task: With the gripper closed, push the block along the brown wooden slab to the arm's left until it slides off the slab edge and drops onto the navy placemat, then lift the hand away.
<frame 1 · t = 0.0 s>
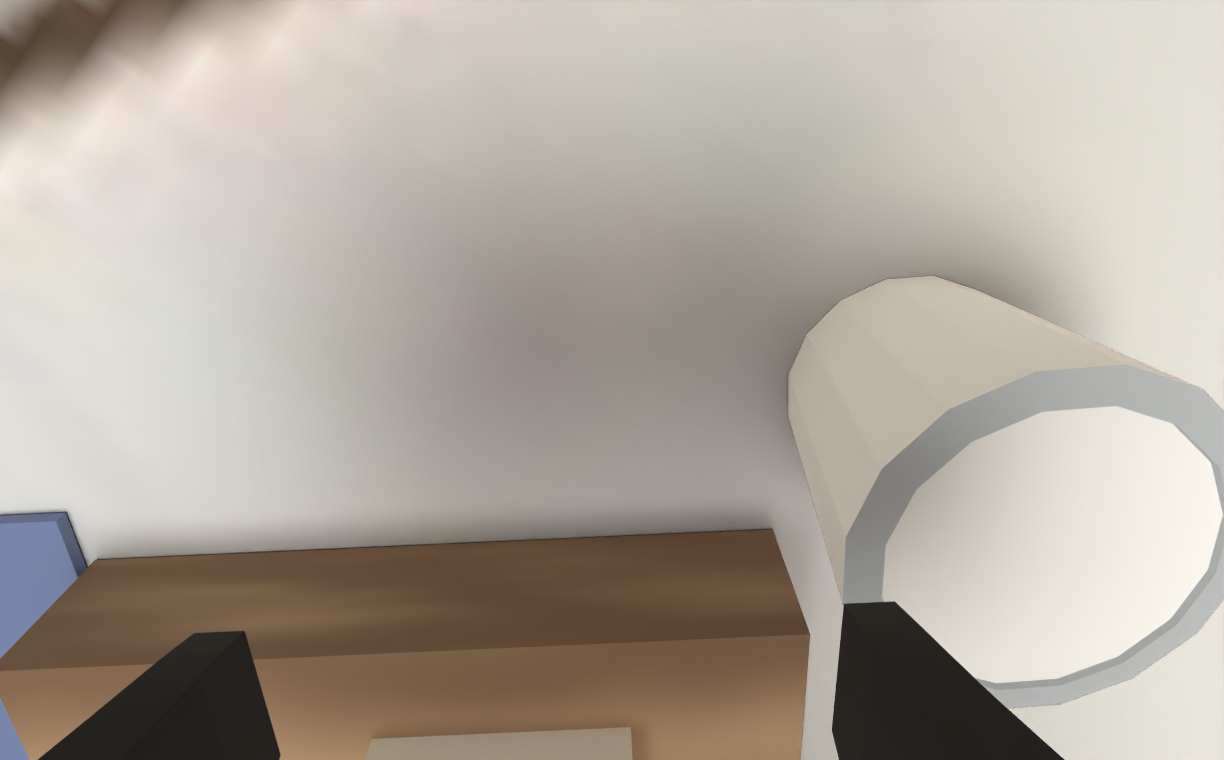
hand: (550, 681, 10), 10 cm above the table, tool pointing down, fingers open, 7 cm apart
mat: (12, 758, 24), on the table
brown wooden slab: (464, 737, 24), on the table
white cup: (897, 382, 19), on the table
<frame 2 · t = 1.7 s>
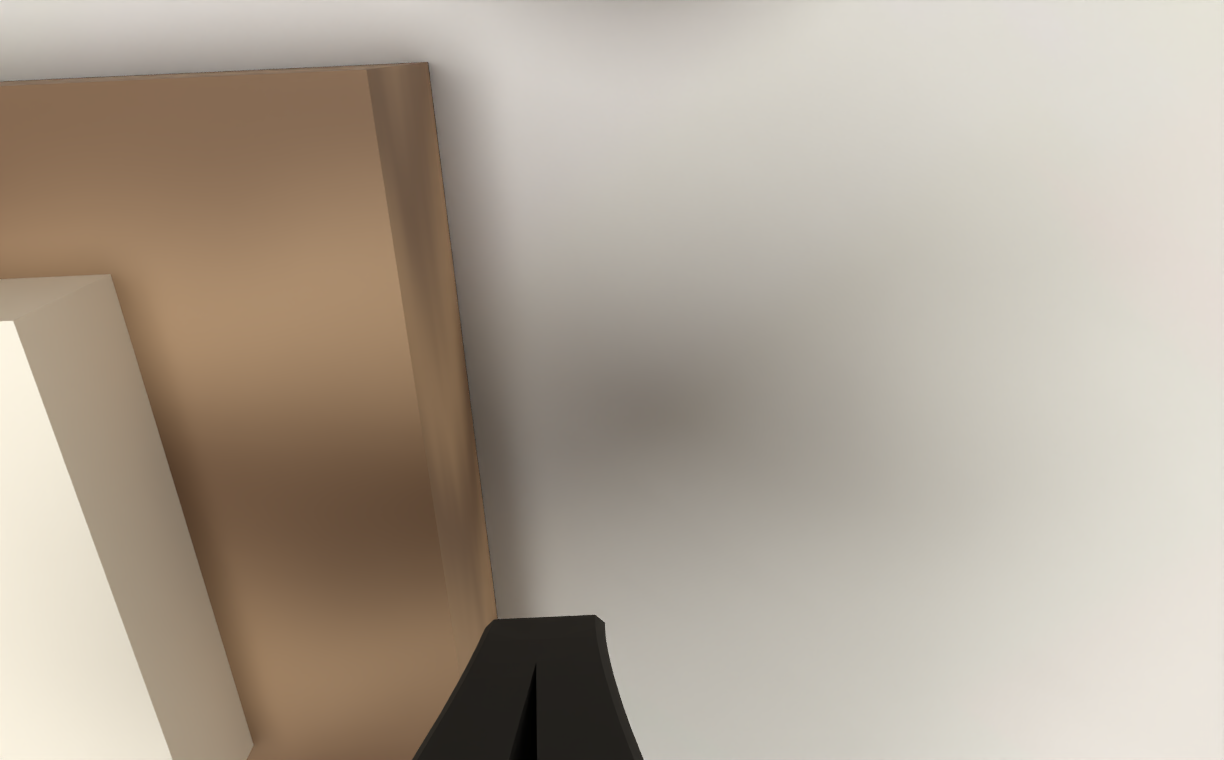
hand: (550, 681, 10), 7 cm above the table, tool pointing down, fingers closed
brown wooden slab: (43, 441, 16), on the table
block: (7, 551, 13), point 4 cm above the table, touching brown wooden slab
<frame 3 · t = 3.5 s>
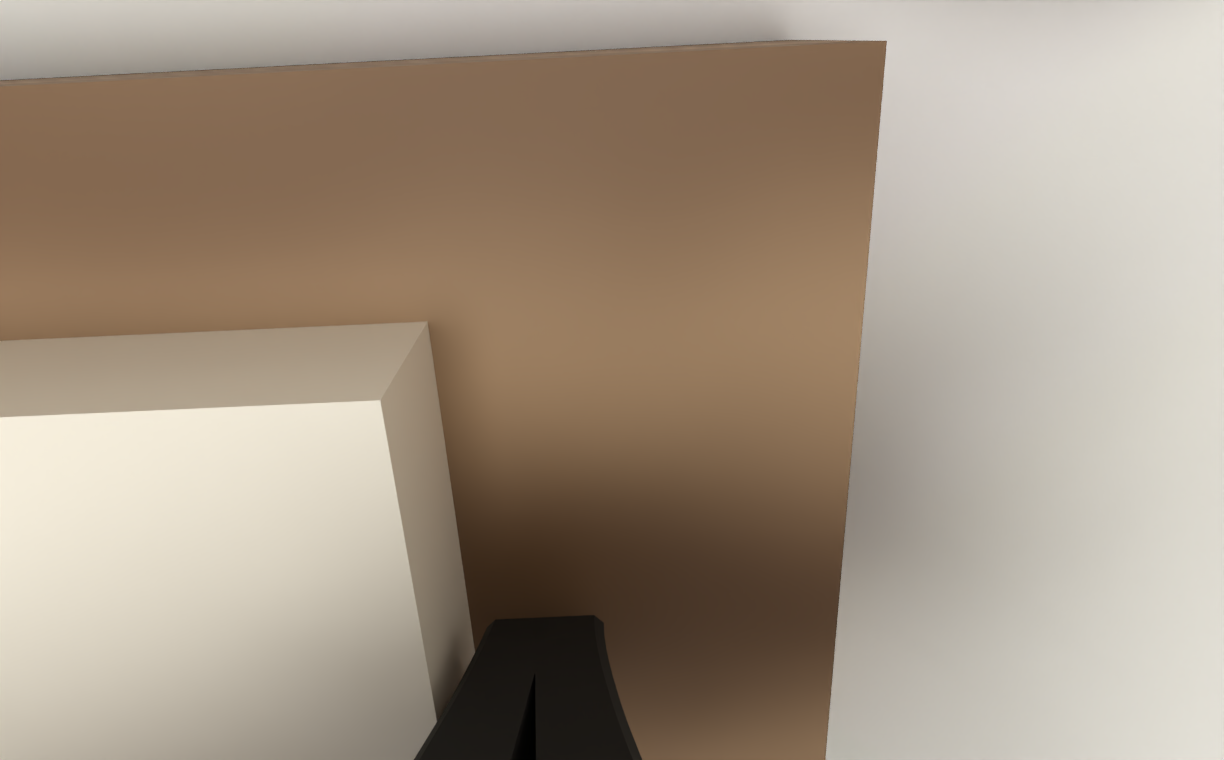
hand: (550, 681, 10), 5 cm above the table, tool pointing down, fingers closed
brown wooden slab: (265, 496, 14), on the table
block: (244, 657, 10), point 4 cm above the table, touching brown wooden slab, gripper
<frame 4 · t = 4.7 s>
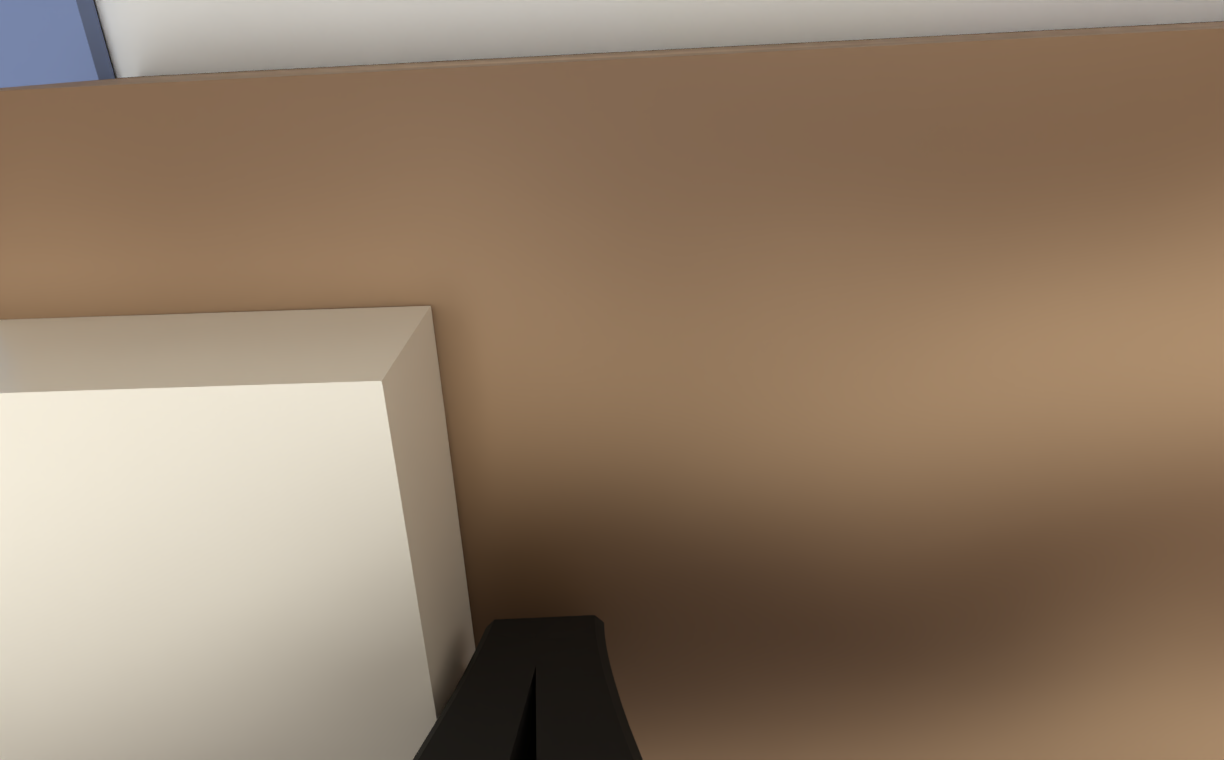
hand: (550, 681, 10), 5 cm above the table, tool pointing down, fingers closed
brown wooden slab: (756, 473, 14), on the table
block: (242, 644, 10), point 4 cm above the table, touching gripper
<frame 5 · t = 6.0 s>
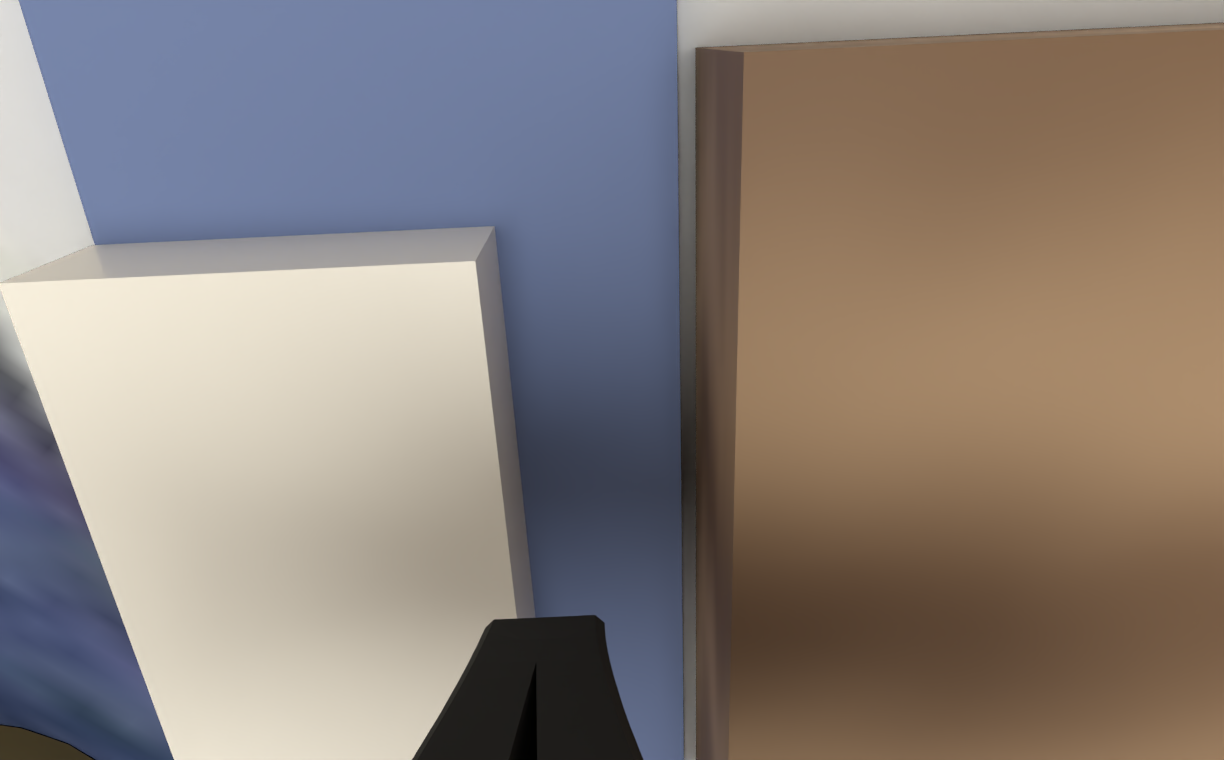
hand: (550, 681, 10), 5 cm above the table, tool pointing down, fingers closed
mat: (434, 488, 14), on the table
brown wooden slab: (1203, 452, 14), on the table
block: (307, 566, 12), point 2 cm above the table, tilted 180°, touching mat
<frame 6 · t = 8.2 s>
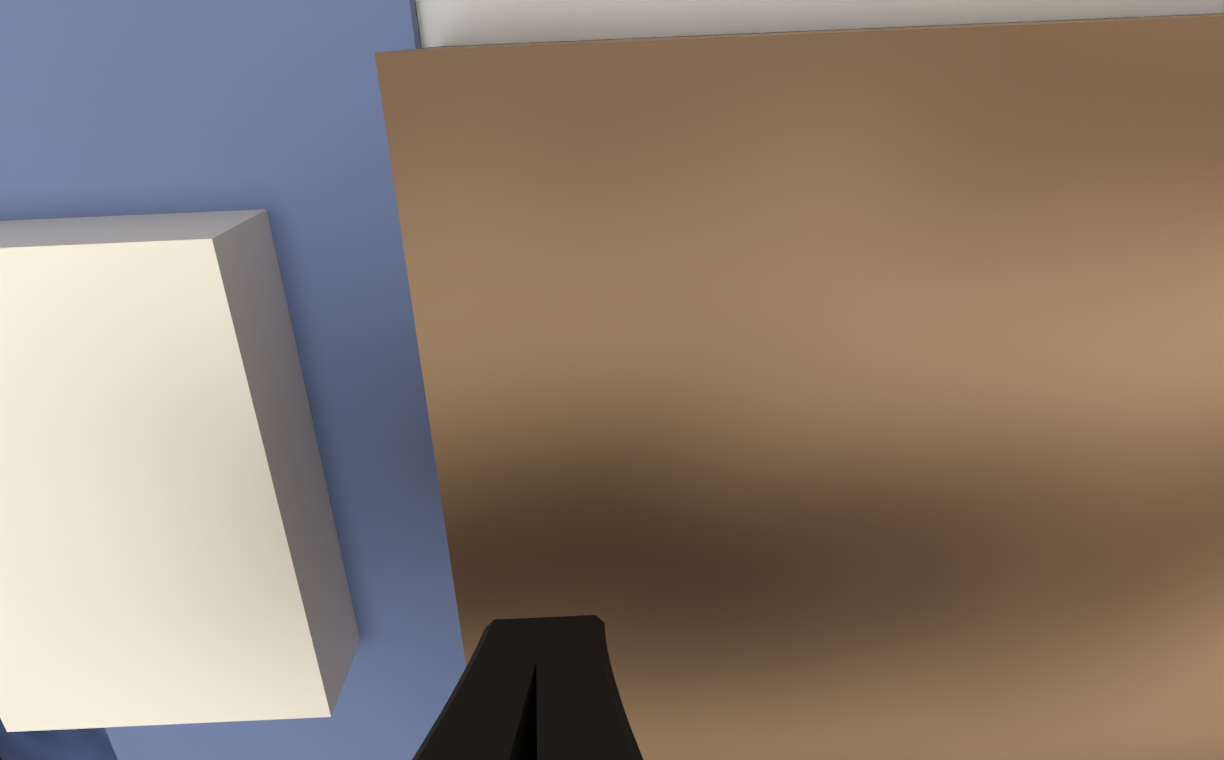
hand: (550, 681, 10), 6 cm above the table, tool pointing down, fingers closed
mat: (243, 454, 15), on the table
brown wooden slab: (955, 422, 15), on the table
block: (94, 520, 13), point 2 cm above the table, tilted 180°, touching mat
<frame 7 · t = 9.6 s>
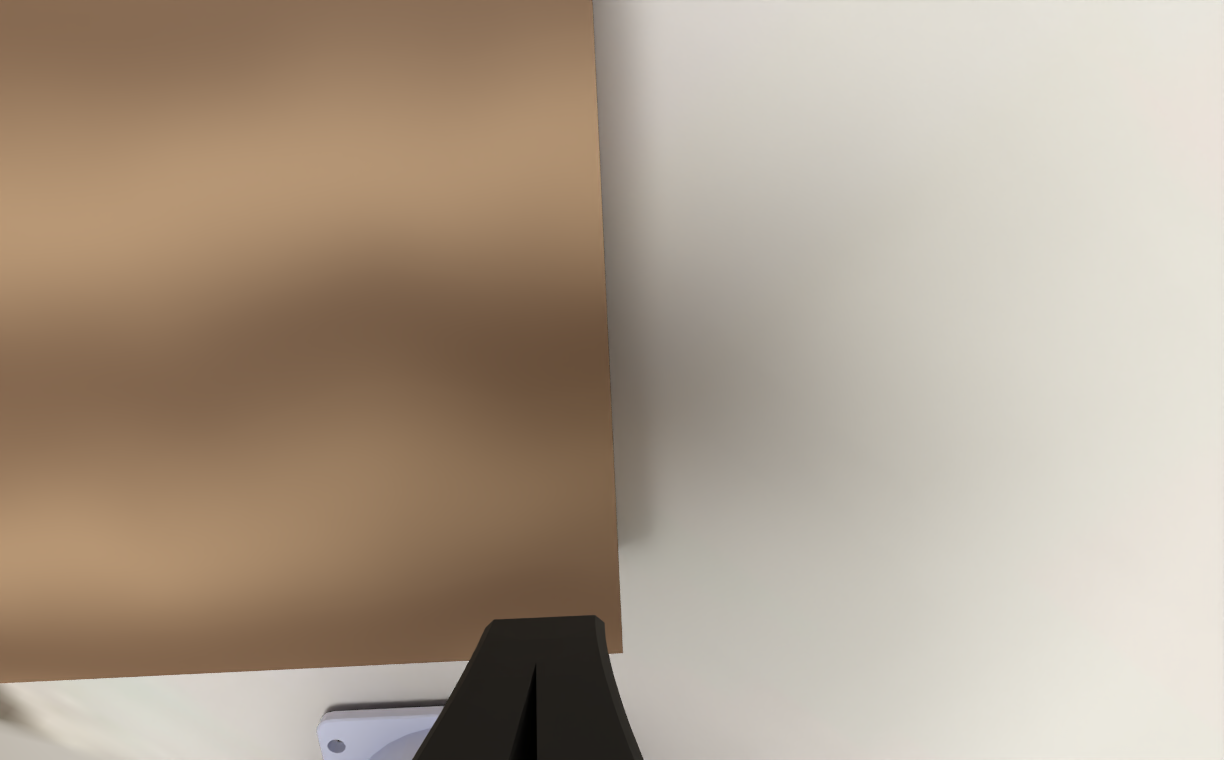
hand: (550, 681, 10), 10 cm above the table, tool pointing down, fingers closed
brown wooden slab: (225, 318, 19), on the table
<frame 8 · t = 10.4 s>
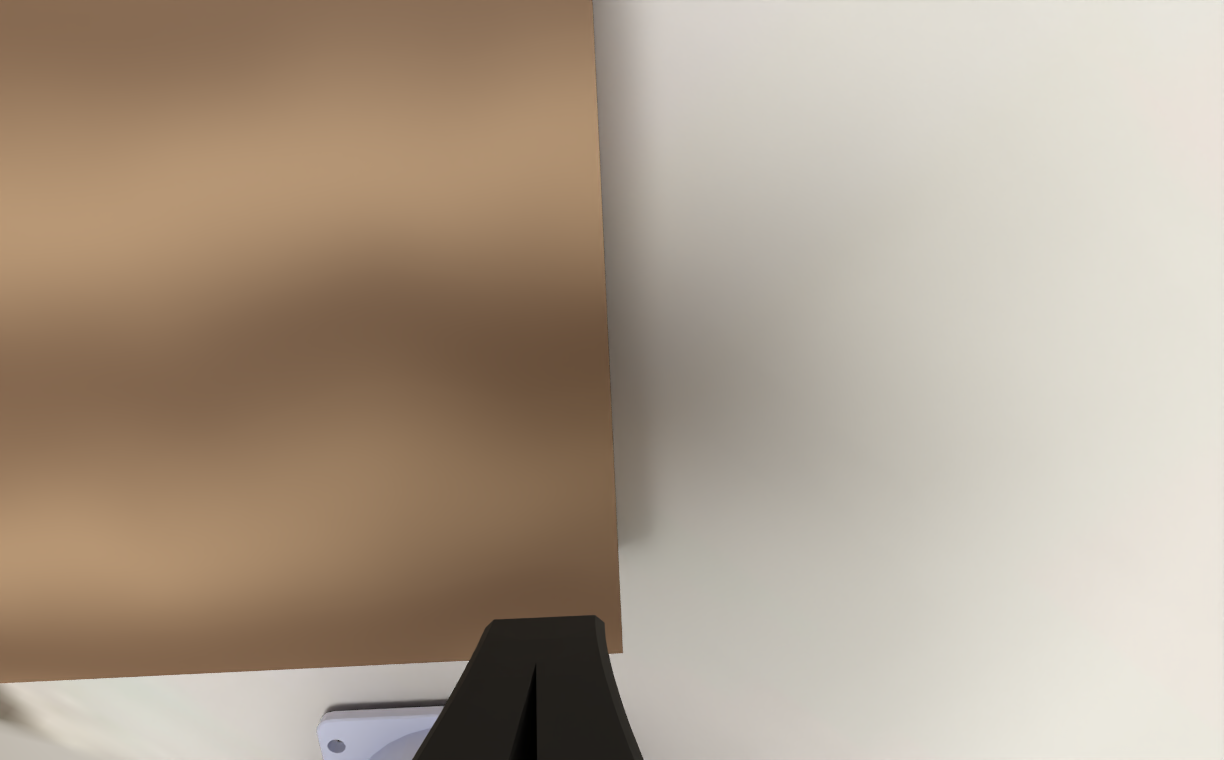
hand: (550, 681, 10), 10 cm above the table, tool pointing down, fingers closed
brown wooden slab: (225, 318, 19), on the table
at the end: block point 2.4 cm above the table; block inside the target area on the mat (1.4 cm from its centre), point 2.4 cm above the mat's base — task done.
